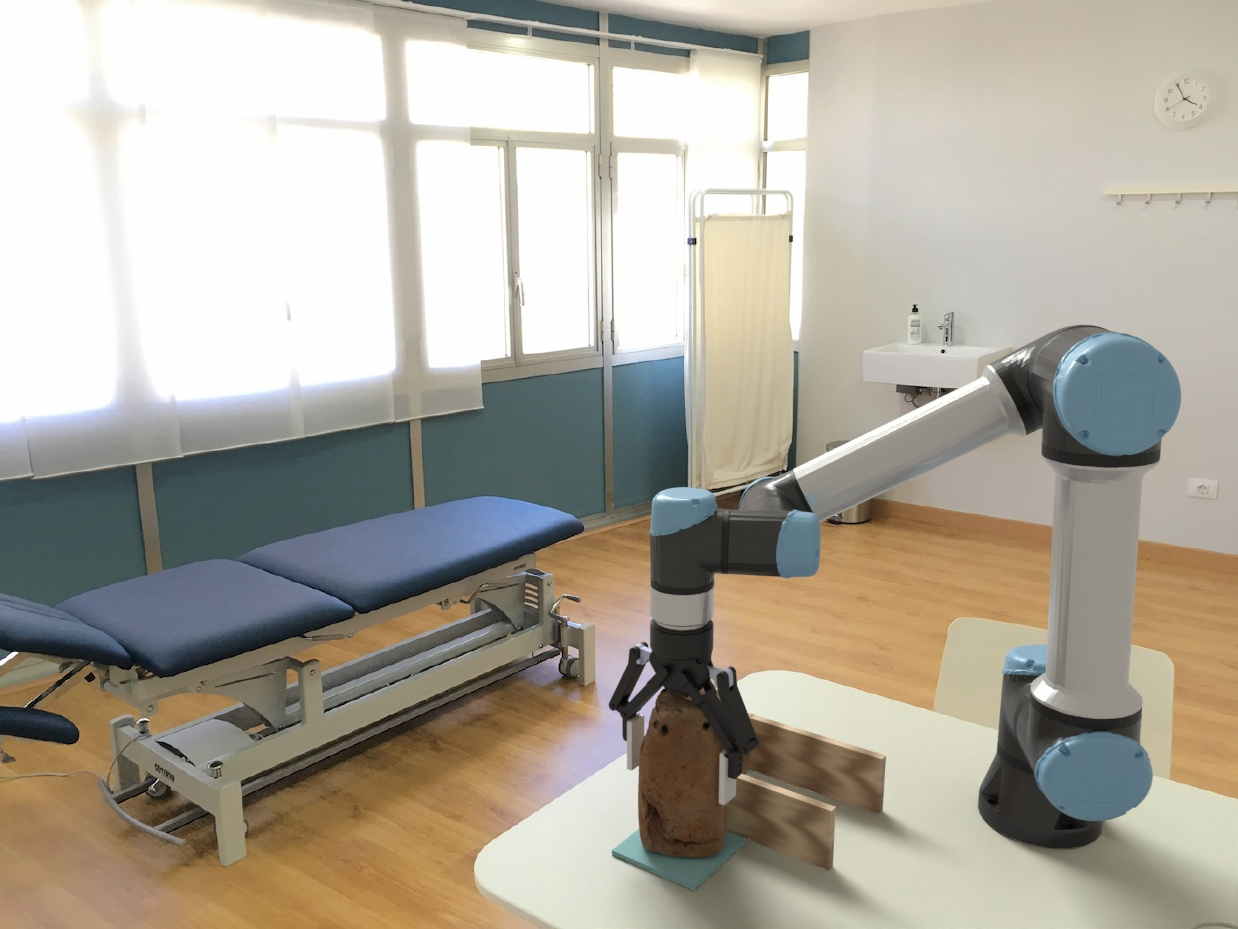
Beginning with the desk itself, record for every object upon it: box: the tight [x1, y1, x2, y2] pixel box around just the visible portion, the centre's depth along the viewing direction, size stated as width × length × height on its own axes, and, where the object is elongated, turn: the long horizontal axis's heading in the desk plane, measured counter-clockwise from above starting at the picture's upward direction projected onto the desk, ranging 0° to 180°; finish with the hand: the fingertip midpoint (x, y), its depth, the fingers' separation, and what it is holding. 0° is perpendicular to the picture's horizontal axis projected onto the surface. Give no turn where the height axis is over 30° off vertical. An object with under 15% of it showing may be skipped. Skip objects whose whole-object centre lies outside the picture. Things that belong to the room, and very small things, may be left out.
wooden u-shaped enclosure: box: [726, 712, 887, 872], centre depth 136 cm, size 21×16×8 cm
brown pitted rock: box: [637, 688, 727, 858], centre depth 126 cm, size 11×8×20 cm
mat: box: [611, 828, 746, 891], centre depth 129 cm, size 12×12×1 cm
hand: (680, 782), depth 127 cm, fingers open, 13 cm apart
